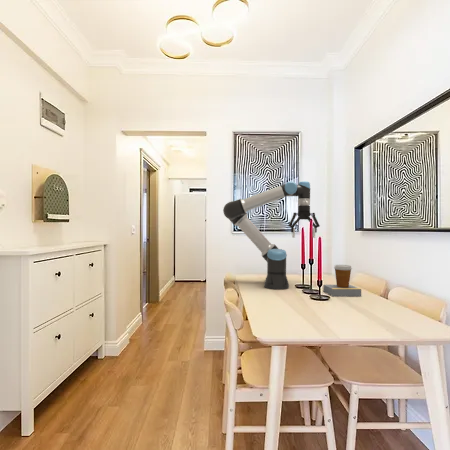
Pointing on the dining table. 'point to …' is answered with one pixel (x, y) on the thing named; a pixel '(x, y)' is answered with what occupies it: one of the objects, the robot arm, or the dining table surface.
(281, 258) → the robot arm
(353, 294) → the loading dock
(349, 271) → the disposable coffee cup
